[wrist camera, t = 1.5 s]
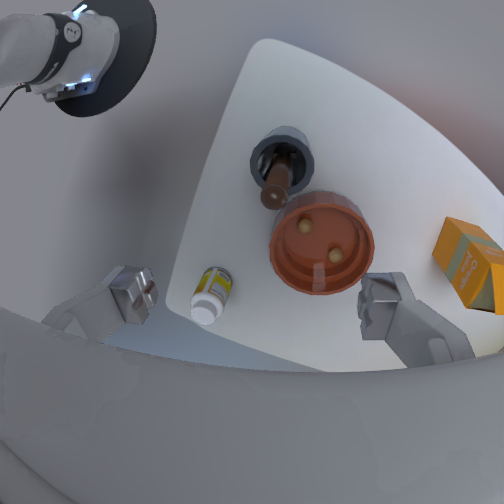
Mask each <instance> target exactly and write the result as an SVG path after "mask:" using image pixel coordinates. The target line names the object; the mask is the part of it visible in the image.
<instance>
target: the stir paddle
mask: <svg viewBox="0 0 504 504" xmlns="http://www.w3.org/2000/svg"><path fill="white" fill-rule="evenodd" d="M296 157H297V147H296V146H276V148H275V150H274V152H273V159H275V160H274V163H273V165H272V168H271V170H270V172H269V175H268V177H267V180H266V182H265V185H264V187H263V189H262V192H261V202H262V204H263V205H264V206H265V207H266V208H267V209H270V210H279V209H281V208H282V207H283V206H284V205H285V204H286V202H287V197H288V189H289V180H290V172H291V163H292V159H296Z"/></svg>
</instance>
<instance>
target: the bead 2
mask: <svg viewBox="0 0 504 504" xmlns="http://www.w3.org/2000/svg"><path fill="white" fill-rule="evenodd" d="M328 256H329V259H330V261H331V262H333V263H339V262H340V261H341V260H342V259H343V252H342V251H341V250H340V249H339V248H333V249H331V250H330V252H329V255H328Z"/></svg>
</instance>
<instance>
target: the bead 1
mask: <svg viewBox="0 0 504 504" xmlns="http://www.w3.org/2000/svg"><path fill="white" fill-rule="evenodd" d="M297 228H298V230H299V232H300V233H302V234H309V233H310V232H311V231H312V230H313V223H312V221H311V220H310V219H307V218H303V219H301V220H300V221H299V222H298V225H297Z"/></svg>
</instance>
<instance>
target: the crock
mask: <svg viewBox="0 0 504 504" xmlns="http://www.w3.org/2000/svg"><path fill="white" fill-rule="evenodd" d="M276 146H296V147H297V157H296V159H292V163H291V172H290V180H289V189H288V196H289V195H292V194H295V193H297V192H300V191H301V190H302V189H304V188H305V187H306V186H307V185H308V184H309V182H310V180H311V178H312V176H313V173H314V158H313V155H312V151H311V148H310V145H309V142H308V140H307V138H306V136H305V135H304V134H303V133H302V132H301V131H300V130H299V129H297V128H294V127H291V126H281V127H278V128H276V129H273V130H272V131H271V132H270V133H269V134H268V135H267V136H266V137H265V138H264V139H263V140H262V141H261V142H260V143H259V144H258V145H257V146H256V147H255V148H254V150H253V153H252V156H251V159H250V168H251V174H252V176H253V178H254V179H255V181H256V183H257V184H258V185H259V186H260V187H261V188H262V189H263V187H264V185H265V182H266V180H267V177H268V175H269V172H270V170H271V168H272V165H273V163H274V160H275V159H273V152H274V150H275V148H276Z"/></svg>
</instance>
